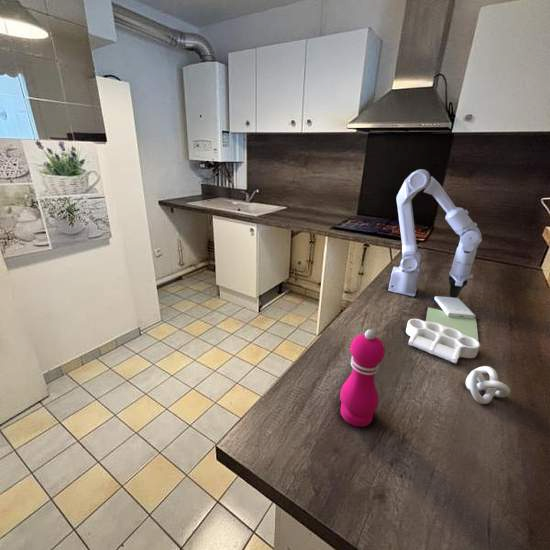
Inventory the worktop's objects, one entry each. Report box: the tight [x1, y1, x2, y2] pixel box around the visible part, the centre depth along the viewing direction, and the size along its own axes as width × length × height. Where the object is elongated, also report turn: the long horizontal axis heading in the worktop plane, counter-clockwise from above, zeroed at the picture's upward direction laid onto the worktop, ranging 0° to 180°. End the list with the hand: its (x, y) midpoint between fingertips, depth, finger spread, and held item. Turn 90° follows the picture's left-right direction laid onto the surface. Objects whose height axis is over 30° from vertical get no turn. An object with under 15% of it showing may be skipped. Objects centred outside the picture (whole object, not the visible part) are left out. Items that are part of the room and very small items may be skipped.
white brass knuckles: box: [405, 318, 481, 364], centre depth 80 cm, size 3×18×15 cm
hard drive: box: [434, 295, 476, 319], centre depth 99 cm, size 2×8×12 cm
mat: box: [425, 306, 479, 342], centre depth 91 cm, size 14×14×1 cm
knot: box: [465, 365, 511, 405], centre depth 63 cm, size 8×8×6 cm
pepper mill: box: [339, 329, 386, 428], centre depth 55 cm, size 7×7×20 cm
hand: (452, 297), depth 105 cm, fingers closed, pressing on hard drive
